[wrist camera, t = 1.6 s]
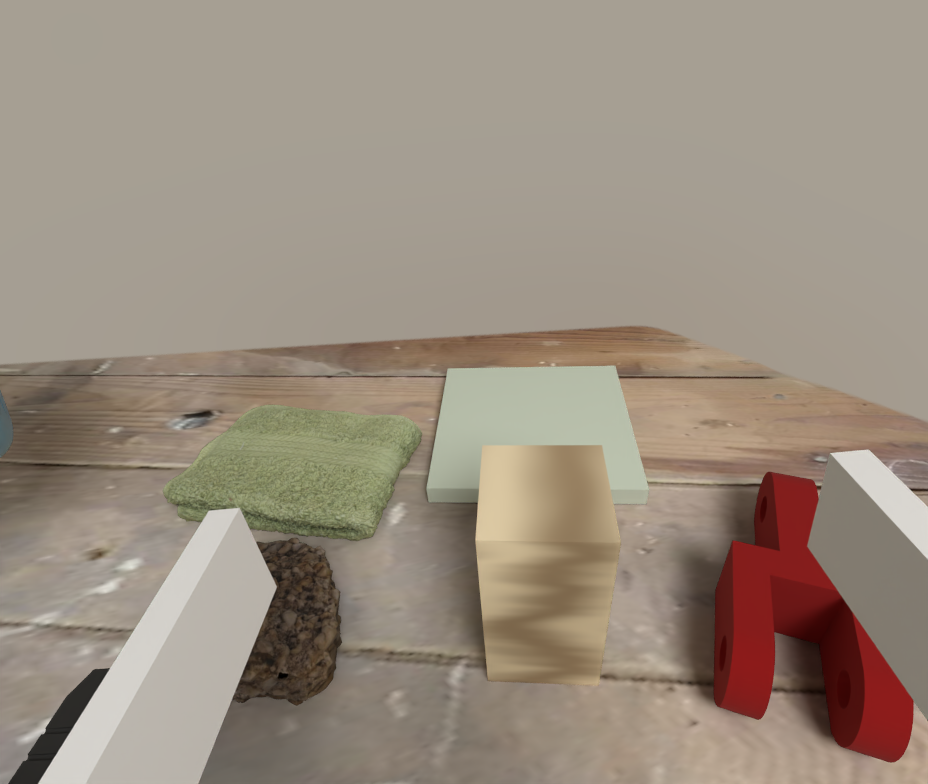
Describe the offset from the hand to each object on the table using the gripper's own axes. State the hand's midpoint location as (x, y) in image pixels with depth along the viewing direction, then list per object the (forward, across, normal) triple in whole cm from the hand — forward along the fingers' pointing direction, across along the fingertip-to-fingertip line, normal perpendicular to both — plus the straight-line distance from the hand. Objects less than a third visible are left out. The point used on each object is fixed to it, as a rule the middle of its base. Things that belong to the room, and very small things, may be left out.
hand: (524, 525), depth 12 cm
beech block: (+11, 0, -20) cm, 23 cm away
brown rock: (+11, -16, -19) cm, 27 cm away
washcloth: (+25, -18, -18) cm, 36 cm away
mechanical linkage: (+12, +14, -21) cm, 28 cm away
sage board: (+29, +1, -18) cm, 34 cm away
